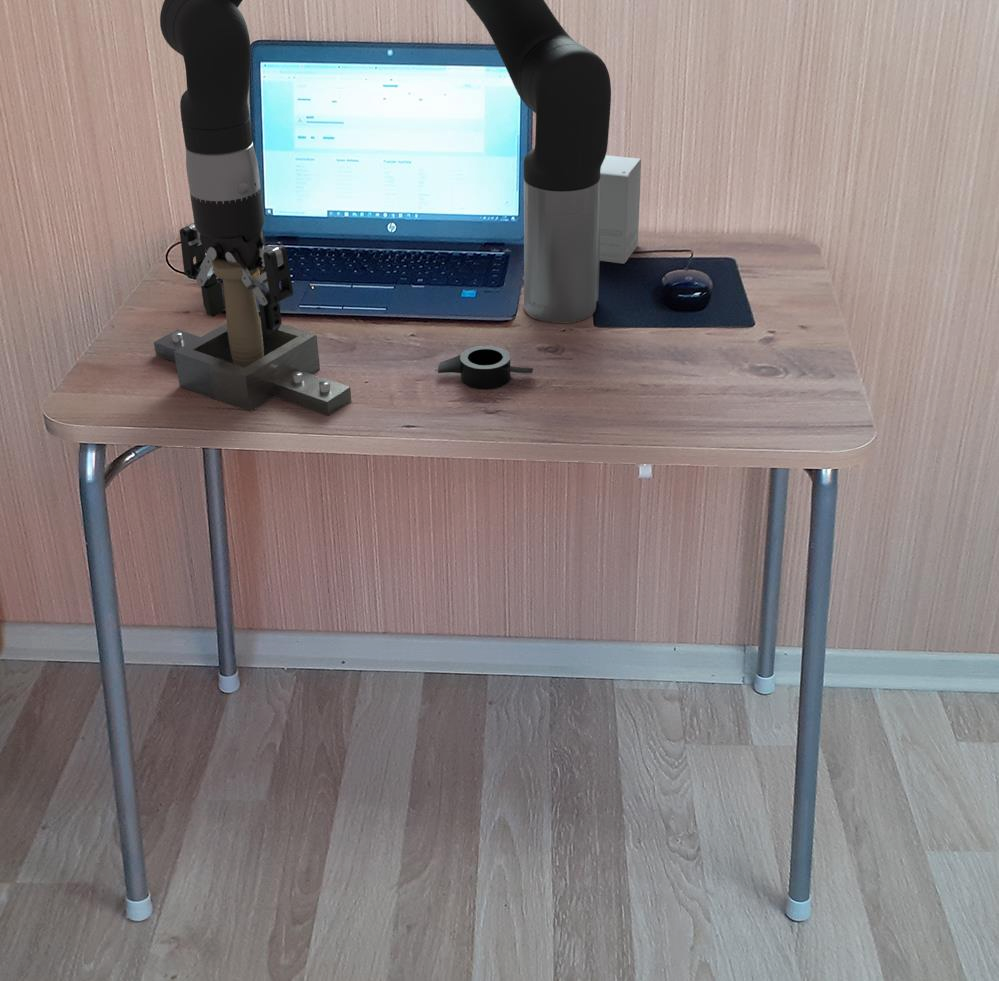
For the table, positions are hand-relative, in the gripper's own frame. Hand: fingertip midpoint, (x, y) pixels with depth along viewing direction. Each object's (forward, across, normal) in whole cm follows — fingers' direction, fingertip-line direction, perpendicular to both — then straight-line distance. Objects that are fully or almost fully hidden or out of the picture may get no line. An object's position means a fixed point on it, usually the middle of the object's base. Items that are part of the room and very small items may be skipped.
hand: (243, 322), depth 148 cm
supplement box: (+7, -17, -54) cm, 57 cm away
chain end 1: (+7, +7, 0) cm, 10 cm away
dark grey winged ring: (+8, -23, -15) cm, 29 cm away
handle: (+7, 0, 0) cm, 7 cm away
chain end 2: (+7, -7, 0) cm, 10 cm away
